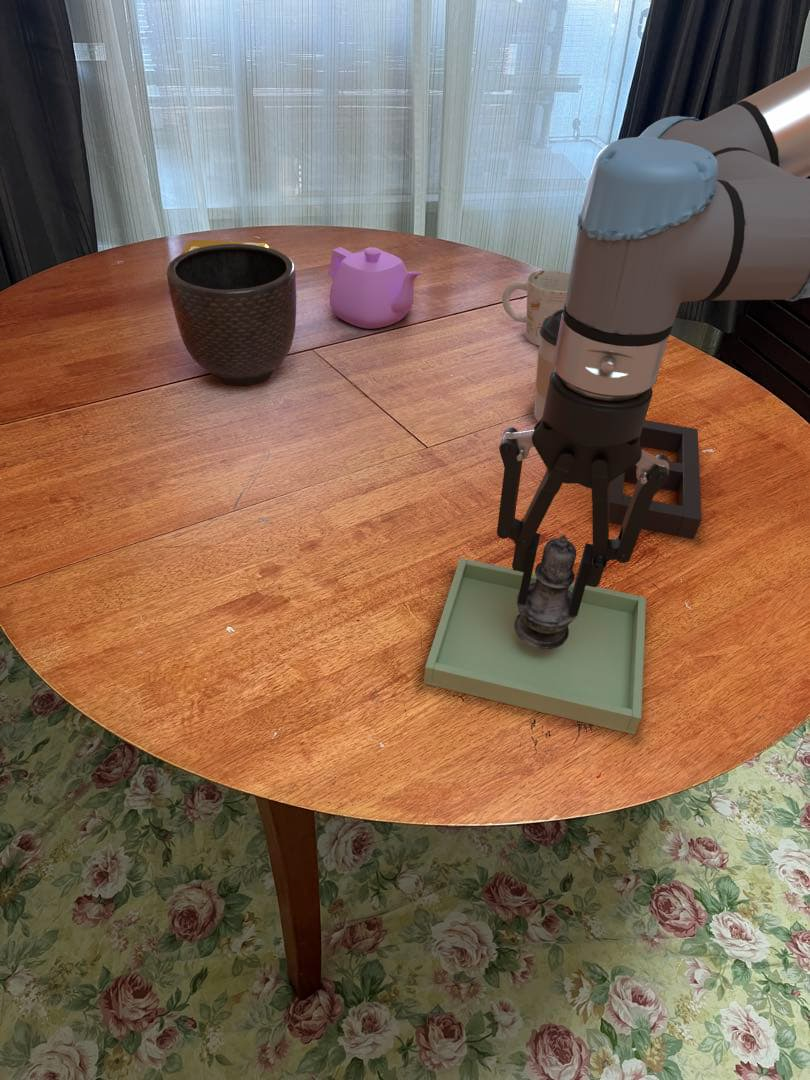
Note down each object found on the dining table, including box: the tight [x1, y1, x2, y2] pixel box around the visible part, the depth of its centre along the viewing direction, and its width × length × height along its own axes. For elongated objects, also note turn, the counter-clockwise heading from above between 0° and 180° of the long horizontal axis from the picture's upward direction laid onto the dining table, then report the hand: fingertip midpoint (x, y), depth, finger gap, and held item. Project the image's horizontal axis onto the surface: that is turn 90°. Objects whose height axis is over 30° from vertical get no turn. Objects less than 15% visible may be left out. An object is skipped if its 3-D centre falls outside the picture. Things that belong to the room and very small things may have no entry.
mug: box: [501, 269, 570, 347], centre depth 124 cm, size 8×13×10 cm, turn 61°
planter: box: [166, 244, 297, 387], centre depth 109 cm, size 17×17×16 cm
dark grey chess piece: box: [514, 534, 579, 649], centre depth 70 cm, size 6×6×12 cm
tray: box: [423, 557, 647, 736], centre depth 75 cm, size 20×16×2 cm
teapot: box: [328, 246, 422, 330], centre depth 127 cm, size 13×20×11 cm
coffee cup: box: [533, 309, 564, 422], centre depth 103 cm, size 9×9×15 cm
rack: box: [609, 419, 702, 540], centre depth 96 cm, size 11×20×3 cm, turn 165°
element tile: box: [181, 239, 270, 254], centre depth 137 cm, size 15×15×5 cm
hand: (548, 599), depth 71 cm, fingers closed on dark grey chess piece, 4 cm apart
